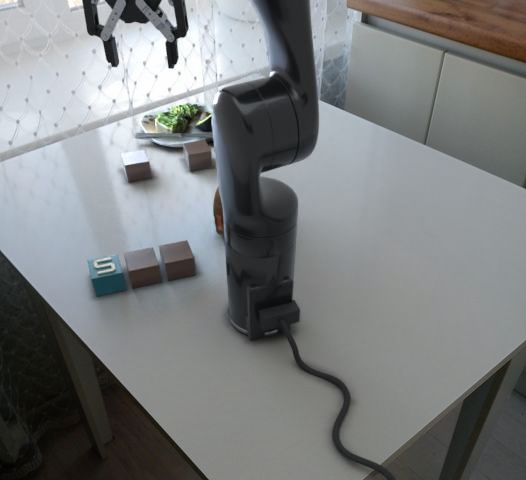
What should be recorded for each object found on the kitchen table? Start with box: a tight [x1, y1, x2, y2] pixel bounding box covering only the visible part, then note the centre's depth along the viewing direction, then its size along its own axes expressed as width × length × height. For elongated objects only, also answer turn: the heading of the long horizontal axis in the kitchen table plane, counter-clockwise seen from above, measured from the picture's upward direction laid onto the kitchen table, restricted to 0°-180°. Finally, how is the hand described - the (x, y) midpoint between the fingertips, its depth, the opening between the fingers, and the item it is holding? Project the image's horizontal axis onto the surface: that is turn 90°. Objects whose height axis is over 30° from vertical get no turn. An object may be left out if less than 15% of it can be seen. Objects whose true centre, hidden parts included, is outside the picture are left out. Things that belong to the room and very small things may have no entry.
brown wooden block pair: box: [123, 239, 197, 289], centre depth 86 cm, size 5×10×4 cm, turn 109°
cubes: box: [120, 140, 213, 183], centre depth 107 cm, size 5×17×4 cm, turn 109°
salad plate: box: [134, 101, 213, 148], centre depth 116 cm, size 19×18×5 cm
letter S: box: [86, 253, 127, 297], centre depth 84 cm, size 5×5×4 cm
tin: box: [212, 186, 224, 236], centre depth 94 cm, size 15×3×8 cm, turn 168°
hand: (143, 66), depth 83 cm, fingers open, 8 cm apart
